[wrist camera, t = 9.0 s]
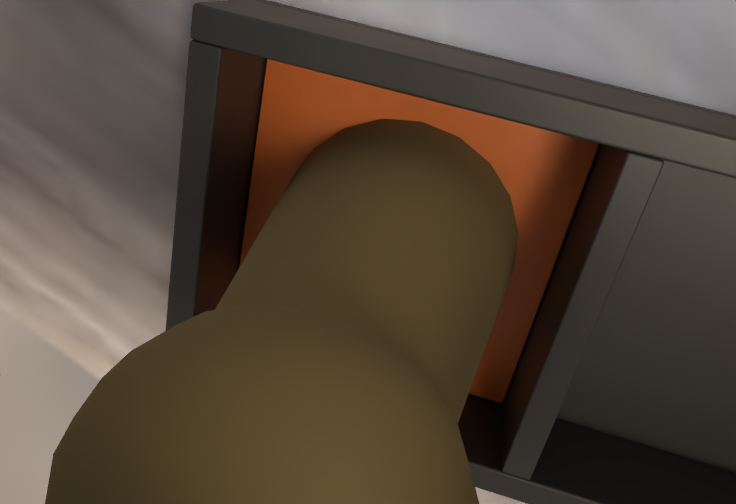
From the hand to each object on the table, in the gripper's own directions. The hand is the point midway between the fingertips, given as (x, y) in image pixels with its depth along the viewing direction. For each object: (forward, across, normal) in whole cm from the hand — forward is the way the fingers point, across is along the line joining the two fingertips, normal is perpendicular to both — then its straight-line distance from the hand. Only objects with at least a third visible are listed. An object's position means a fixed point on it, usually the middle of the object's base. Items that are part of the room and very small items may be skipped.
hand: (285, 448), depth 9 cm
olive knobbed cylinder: (+8, 0, 0) cm, 8 cm away
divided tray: (+9, -4, 0) cm, 10 cm away
